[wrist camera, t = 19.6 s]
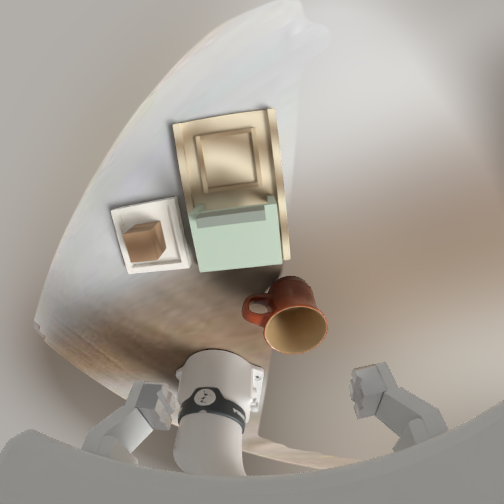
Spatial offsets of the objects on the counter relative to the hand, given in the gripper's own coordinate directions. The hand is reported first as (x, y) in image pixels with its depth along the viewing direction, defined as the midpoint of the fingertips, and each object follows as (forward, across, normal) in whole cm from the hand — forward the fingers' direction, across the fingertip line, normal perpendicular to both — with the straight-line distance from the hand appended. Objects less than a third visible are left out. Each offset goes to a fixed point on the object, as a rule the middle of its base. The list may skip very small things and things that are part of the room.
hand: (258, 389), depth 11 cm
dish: (+31, +17, +2) cm, 35 cm away
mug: (+31, -2, +14) cm, 34 cm away
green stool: (+30, +3, +2) cm, 31 cm away
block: (+30, +17, +2) cm, 35 cm away
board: (+31, +3, -3) cm, 31 cm away
